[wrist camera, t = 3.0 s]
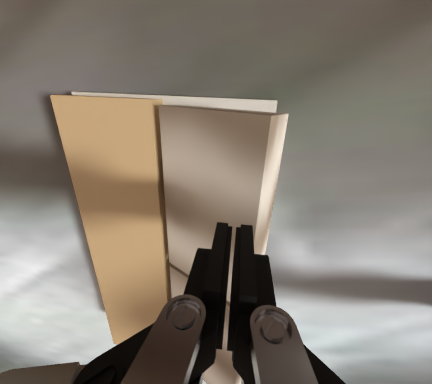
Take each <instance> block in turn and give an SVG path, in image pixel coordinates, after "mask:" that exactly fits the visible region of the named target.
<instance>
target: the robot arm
mask: <svg viewBox="0 0 432 384" xmlns="http://www.w3.org/2000/svg"><path fill="white" fill-rule="evenodd" d="M232 227H233V226H228V223H223V222H217V225H216V229H215V234H214V239H213V243H212V248H211V249H205V248H198V249H197V251H196V254H195V258H194V261H193V264H192V267H191V271H190V274H189V277H188V280H187V283H186V287H185V290H184V293H183V295H178V296H176V297H174V298H172V299H171V300H169V301H168V302H167V303H166V304H165V306H164V307H163V309H162V311H161V312H160V314H159V316H158V318H157V319H156V321H155V322H154V323H153V324H151V325H150V326H148V327H146V328H145V329H143V330H141V331H140V332H138V333H136V334H135V335H133V336H131V337H130V338H128V339H126V340H125V341H123V342H121V343H120V344H118V345H116V346H115V347H113V348H112V349H110V350H108V351H107V352H105V353H103V354H102V355H100V356H98V357H97V358H95V359H94V360H92V361H91V362H90V363H88V364H86V365H80V364H79V362H73V363H64V364H55V365H46V366H37V367H28V368H19V369H12V370H8V371H5V372H2V373H0V384H202V381H203V377H204V372H205V371H206V370H207V369H208V368H209V367H211V366H212V365H213V364H214V362H215V359H216V350H217V349H220V350H222V345H223V334H224V322H225V311H226V299H227V287H228V276H229V264H230V252H231V240H232ZM227 351H232V362H233V367H234V369H235V370H236V371H237V373H238V374H239V375H240V377H241V384H346V383H344V382H343V381H342V380H341V379H340V378H339V377H338V376H337V375H336V374H335V373H334V372H333V371H332V370H331V369H329V368H328V367H327V366H326V365H325V364H324V363H323V362H322V361H321V360H320V359H319V358H318V357H317V356H315V355H314V354H313V353H312V352H311V351H310V350H309V349H308V348H307V347H306V346H305V345H304V344H303V342H302V340H301V337H300V334H299V332H298V329H297V326H296V324H295V322H294V321H293V319H292V318H291V316H290V315H289V314H288V313H287V312H285V311H284V310H282V309H281V308H278V307H276V301H275V295H274V288H273V282H272V275H271V269H270V263H269V257H268V255H261V254H254V240H253V226H252V225H244V224H241V227H236V235H235V246H234V257H233V268H232V280H231V295H230V310H229V325H228V339H227Z"/></svg>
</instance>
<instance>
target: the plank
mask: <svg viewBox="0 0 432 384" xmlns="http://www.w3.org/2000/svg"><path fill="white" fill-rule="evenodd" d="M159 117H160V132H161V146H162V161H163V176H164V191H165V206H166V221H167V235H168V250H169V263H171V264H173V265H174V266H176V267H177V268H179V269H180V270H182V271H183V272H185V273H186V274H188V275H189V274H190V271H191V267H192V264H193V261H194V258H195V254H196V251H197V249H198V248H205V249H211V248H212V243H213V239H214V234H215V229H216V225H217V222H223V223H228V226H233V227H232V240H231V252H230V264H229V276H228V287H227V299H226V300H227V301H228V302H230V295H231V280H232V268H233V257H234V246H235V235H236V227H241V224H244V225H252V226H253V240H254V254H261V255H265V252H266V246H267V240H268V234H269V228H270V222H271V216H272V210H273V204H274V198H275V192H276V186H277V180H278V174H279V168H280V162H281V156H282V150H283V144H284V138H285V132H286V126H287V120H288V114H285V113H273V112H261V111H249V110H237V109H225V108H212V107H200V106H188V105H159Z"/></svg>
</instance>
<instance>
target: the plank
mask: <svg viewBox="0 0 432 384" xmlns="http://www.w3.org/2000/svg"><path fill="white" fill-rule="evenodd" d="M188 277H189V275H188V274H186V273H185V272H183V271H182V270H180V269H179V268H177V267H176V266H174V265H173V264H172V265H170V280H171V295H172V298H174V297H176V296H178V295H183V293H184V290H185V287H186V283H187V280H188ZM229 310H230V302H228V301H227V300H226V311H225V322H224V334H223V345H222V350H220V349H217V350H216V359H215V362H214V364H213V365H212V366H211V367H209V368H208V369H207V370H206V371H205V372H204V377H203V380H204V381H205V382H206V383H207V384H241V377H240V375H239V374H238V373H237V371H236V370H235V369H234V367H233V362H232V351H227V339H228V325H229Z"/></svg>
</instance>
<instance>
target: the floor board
mask: <svg viewBox="0 0 432 384" xmlns="http://www.w3.org/2000/svg"><path fill="white" fill-rule="evenodd" d="M50 98H51V101H52V105H53V109H54V113H55V117H56V121H57V125H58V129H59V133H60V136H61V140H62V144H63V148H64V152H65V156H66V160H67V164H68V167H69V171H70V175H71V179H72V183H73V187H74V191H75V195H76V199H77V202H78V206H79V210H80V214H81V218H82V222H83V226H84V230H85V234H86V237H87V241H88V245H89V249H90V253H91V257H92V261H93V265H94V268H95V272H96V276H97V280H98V284H99V288H100V292H101V296H102V300H103V303H104V307H105V311H106V315H107V319H108V323H109V327H110V331H111V335H112V338H113V342H114V344H120V343H121V342H123V341H125V340H126V339H128V338H130V337H131V336H133V335H135V334H136V333H138V332H140V331H141V330H143V329H145V328H146V327H148V326H150V325H151V324H153V323H154V322H155V321H156V319H157V318H158V316H159V314H160V312H161V311H162V309H163V307H164V306H165V304H166V303H167V302H168V301H169V300H171V299H172V295H171V280H170V265H172V264H171V263H169V250H168V235H167V221H166V206H165V191H164V176H163V161H162V146H161V132H160V117H159V105H188V106H200V107H212V108H225V109H237V110H249V111H261V112H273V113H276V108H277V101H276V100H258V99H234V98H211V97H188V96H164V95H141V94H117V93H94V92H72V95H50Z"/></svg>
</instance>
